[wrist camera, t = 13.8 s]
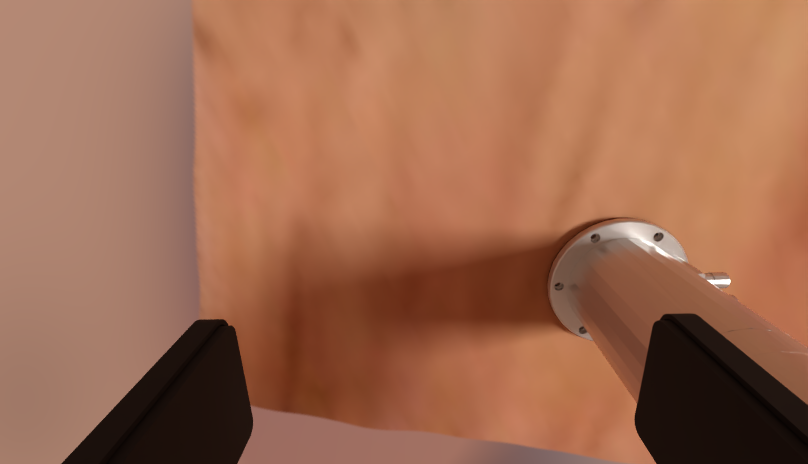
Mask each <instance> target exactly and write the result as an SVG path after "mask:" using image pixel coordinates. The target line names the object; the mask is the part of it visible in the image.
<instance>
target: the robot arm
mask: <svg viewBox="0 0 808 464" xmlns="http://www.w3.org/2000/svg"><path fill="white" fill-rule="evenodd" d="M593 234H594V235H593ZM592 235H593V236H592ZM591 236H592V237H591ZM556 283H558V284H556ZM729 285H730V278H729V276H728V275H727V274H726V273H724V272H717V273H702V272H701V271H699V270H698V269H696V268H695V267H693V266H692V265H690V264H689V263H688V259H687V256H686V254H685V251H684V249H683V247H682V246H681V245H680V243H679V242H678V241H677V239H676V238H675V237H674V236H672V235H671V234H670V233H669V232H667V231H666V230H664V229H663V228H661V227H659V226H657V225H655V224H653V223H650V222H647V221H645V220H639V219H633V218H618V219H613V220H607V221H603V222H600V223H598V224H595V225H593V226H590V227H588V228H587V229H585V230H583V231H582V232H580V233H578V234H577V235H576V236H575V237H573V238H572V239H571V240H570V241H569V242H568V243H567V244H566V245H565V246H564V247H563V248H562V250H561V251H560V252H559V254H558V255H557V257H556V259H555V260H554V262H553V264H552V267H551V270H550V273H549V277H548V284H547V287H548V297H549V301H550V304H551V307H552V309H553V311H554V312H555V314H556V316H557V317H558V319H559V320H560V321H561V323H562V324H563V325H564V326H565V327H566V328H567V329H569V330H570V331H571V332H572V333H574V334H576V335H577V336H579V337H582V338H585V339H588V340H591V341H594V342H595V343H596V345H597V346H598V348H599V349H600V351H601V352H602V354H603V355H604V356H605V358H606V359H607V361H608V362H609V364H610V365H611V367H612V368H613V369H614V371H615V372H616V374H617V375H618V377H619V378H620V380H621V381H622V382H623V384H624V385H625V387H626V388H627V390H628V391H629V393H630V394H631V395H632V397H633V398H634V400H635V401H636V403H637V408H636V413H635V426H636V430H637V433H638V435H639V437H640V438H641V440H642V441H643V443H644V445H645V446H646V448H647V449H648V451H649V452H650V454H651V456H652V457H653V459H654V460H655V462H656V463H657V464H808V347H806V346H805V345H803V344H802V343H800V342H799V341H797V340H796V339H794V338H792V337H791V336H789V335H788V334H786V333H785V332H783V331H782V330H780V329H779V328H777V327H776V326H774V325H773V324H771V323H770V322H768V321H767V320H766V319H764V318H763V317H761V316H760V315H758V314H757V313H755V312H754V311H752V310H751V309H749V308H748V307H746V306H745V305H743V304H742V303H740V302H739V301H738V299H737V298H736V297H735V296H733V295H728V294H727V293H725V292H724V291H722V290H721V289H719V288H727V287H728V286H729ZM252 428H253V417H252V412H251V407H250V401H249V396H248V391H247V386H246V381H245V376H244V371H243V366H242V361H241V356H240V351H239V346H238V341H237V336H236V331H235V328H234V327H233V326H228V323H227V322H226V321H225V320H223V319H216V320H197V321H195V322H194V323H193V324H192V325H191V326H190V327H189V328H188V330H187V331H186V332H185V333H184V334H183V335H182V336H181V337H180V338H179V339H178V340H177V341H176V342H175V343H174V345H172V347H171V348H170V349H169V350H168V351H167V352H166V353H165V354H164V355H163V356H162V357H161V358H160V359H159V360H158V362H157V363H156V364H155V365H154V366H153V367H152V368H151V369H150V370H149V371H148V372H147V373H146V374H145V375H144V376H143V378H142V379H141V380H140V381H139V382H138V383H137V384H136V385H135V386H134V387H133V388H132V389H131V390H130V391H129V392H128V393H127V395H126V396H125V397H124V398H123V399H122V400H121V401H120V402H119V403H118V404H117V405H116V406H115V407H114V408H113V410H112V411H111V412H110V413H109V414H108V415H107V416H106V417H105V418H104V419H103V420H102V421H101V422H100V423H99V424H98V425H97V426H96V428H95V429H94V430H93V431H92V432H91V433H90V434H89V435H88V436H87V437H86V438H85V439H84V441H82V442H81V444H80V445H79V446H78V447H77V448H76V449H75V450H74V451H73V452H72V453H71V454H70V455H69V456H68V457H67V458H66V459H65V461H64V462H63V463H62V464H237V463H238V461H239V459H240V457H241V455H242V453H243V450H244V448H245V446H246V444H247V442H248V440H249V438H250V435H251V432H252Z"/></svg>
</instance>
